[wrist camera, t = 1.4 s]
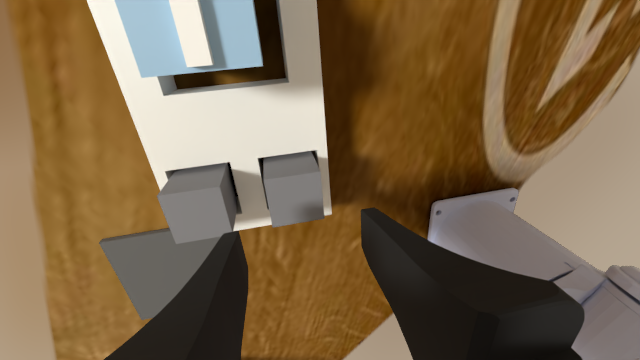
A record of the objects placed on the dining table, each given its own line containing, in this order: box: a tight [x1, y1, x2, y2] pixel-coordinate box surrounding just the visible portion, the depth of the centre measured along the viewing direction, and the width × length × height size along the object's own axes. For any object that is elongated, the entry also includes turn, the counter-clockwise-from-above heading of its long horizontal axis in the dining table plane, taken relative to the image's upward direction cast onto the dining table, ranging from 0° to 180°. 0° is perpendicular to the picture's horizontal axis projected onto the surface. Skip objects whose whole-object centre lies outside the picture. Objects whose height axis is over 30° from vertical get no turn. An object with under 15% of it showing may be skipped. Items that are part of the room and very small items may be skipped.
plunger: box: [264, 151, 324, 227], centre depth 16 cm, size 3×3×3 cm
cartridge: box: [115, 0, 263, 78], centre depth 12 cm, size 4×4×8 cm
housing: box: [87, 0, 332, 231], centre depth 16 cm, size 16×10×2 cm, turn 5°
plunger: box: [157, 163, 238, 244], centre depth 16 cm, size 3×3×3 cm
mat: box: [99, 228, 221, 320], centre depth 21 cm, size 8×8×1 cm
